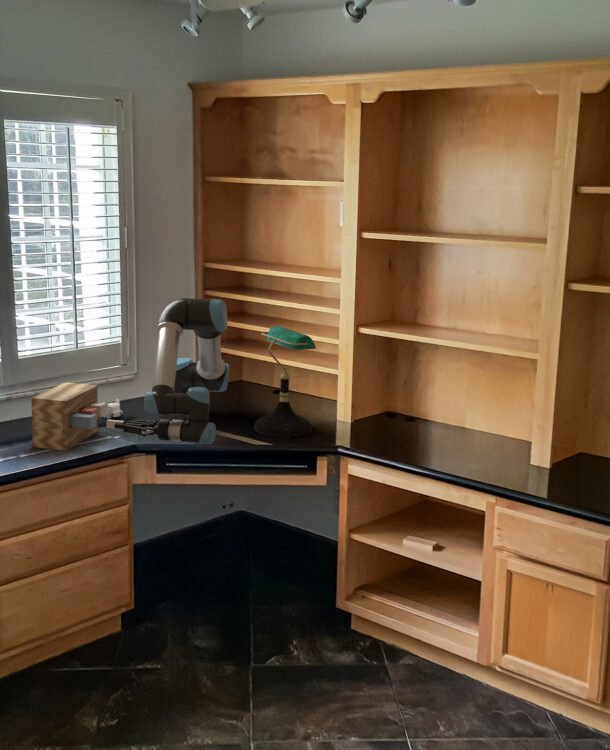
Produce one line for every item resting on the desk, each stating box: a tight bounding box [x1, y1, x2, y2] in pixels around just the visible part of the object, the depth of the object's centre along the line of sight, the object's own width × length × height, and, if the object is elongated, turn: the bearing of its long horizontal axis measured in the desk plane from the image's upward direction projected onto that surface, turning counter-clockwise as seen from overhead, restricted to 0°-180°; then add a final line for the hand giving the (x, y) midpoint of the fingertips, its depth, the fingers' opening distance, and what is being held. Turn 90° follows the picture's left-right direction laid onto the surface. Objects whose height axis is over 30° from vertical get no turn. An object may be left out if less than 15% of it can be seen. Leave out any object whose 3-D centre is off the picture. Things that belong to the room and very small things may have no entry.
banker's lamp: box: [253, 325, 317, 439], centre depth 343 cm, size 26×23×40 cm
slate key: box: [69, 413, 96, 429], centre depth 311 cm, size 12×4×4 cm, turn 79°
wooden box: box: [31, 381, 99, 452], centre depth 321 cm, size 13×26×18 cm, turn 169°
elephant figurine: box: [101, 398, 124, 420], centre depth 353 cm, size 8×10×7 cm
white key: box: [89, 402, 107, 418], centre depth 327 cm, size 12×4×4 cm, turn 79°
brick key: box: [79, 408, 97, 420], centre depth 320 cm, size 12×4×4 cm, turn 79°
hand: (107, 423), depth 309 cm, fingers closed
